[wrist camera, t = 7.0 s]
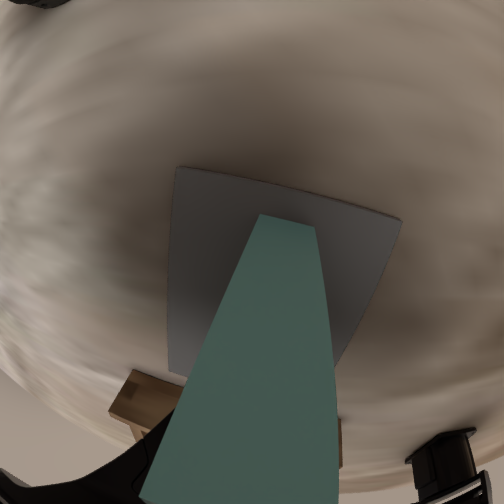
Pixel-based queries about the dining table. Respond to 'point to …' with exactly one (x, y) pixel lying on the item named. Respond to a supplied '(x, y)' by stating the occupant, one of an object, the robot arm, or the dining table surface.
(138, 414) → the tray
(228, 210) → the mat
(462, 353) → the dining table surface
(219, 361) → the teal flat slab
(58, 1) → the headphones
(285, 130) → the dining table surface
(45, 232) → the dining table surface
